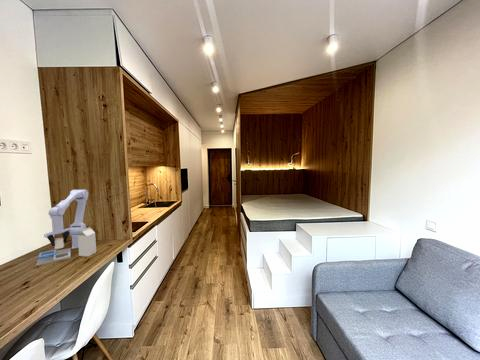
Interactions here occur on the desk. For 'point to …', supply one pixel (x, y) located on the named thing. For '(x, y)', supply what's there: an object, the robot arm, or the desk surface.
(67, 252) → the duct panel
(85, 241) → the milk carton
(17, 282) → the desk surface
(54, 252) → the blue bezel
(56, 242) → the plug
